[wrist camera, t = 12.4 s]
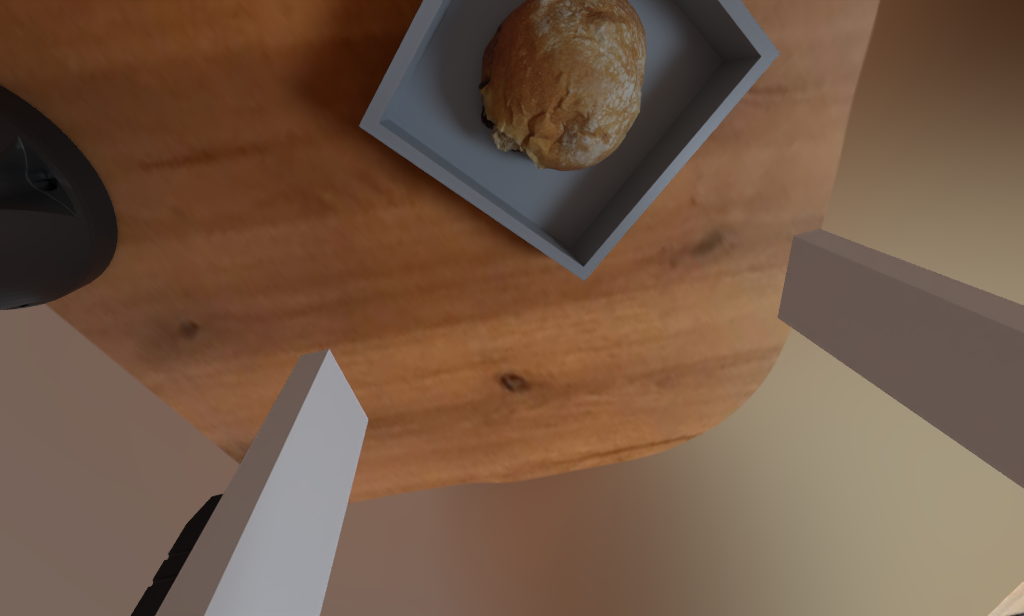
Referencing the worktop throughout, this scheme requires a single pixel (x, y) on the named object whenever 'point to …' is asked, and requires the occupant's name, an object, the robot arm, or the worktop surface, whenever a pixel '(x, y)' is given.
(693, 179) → the worktop surface
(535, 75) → the bread roll
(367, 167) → the worktop surface
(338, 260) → the worktop surface
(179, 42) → the worktop surface
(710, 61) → the bread tray
